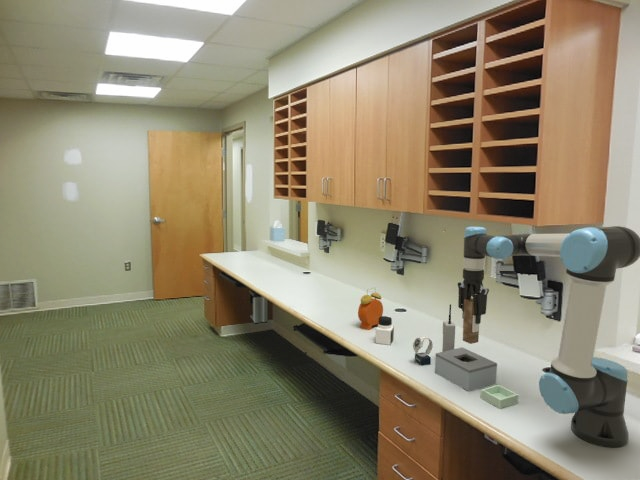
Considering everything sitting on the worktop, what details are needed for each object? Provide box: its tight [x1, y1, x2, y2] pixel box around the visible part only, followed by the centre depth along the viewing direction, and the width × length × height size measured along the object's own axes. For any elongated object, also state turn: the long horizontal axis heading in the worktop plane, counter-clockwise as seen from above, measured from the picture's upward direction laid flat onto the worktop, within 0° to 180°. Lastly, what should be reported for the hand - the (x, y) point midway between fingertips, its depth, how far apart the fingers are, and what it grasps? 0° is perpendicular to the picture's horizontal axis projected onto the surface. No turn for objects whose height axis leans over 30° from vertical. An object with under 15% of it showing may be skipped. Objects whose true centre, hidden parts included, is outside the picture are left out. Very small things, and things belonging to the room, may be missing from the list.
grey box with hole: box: [434, 346, 498, 392], centre depth 184 cm, size 18×14×8 cm
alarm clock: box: [357, 287, 384, 331], centre depth 242 cm, size 13×6×20 cm, turn 135°
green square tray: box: [480, 384, 519, 409], centre depth 166 cm, size 9×9×3 cm
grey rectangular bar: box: [441, 303, 456, 352], centre depth 198 cm, size 4×5×25 cm
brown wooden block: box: [462, 297, 480, 345], centre depth 179 cm, size 4×4×16 cm
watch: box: [412, 336, 434, 367], centre depth 198 cm, size 6×8×11 cm
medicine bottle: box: [375, 315, 395, 346], centre depth 221 cm, size 7×7×12 cm
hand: (470, 329), depth 179 cm, fingers closed on brown wooden block, 4 cm apart
